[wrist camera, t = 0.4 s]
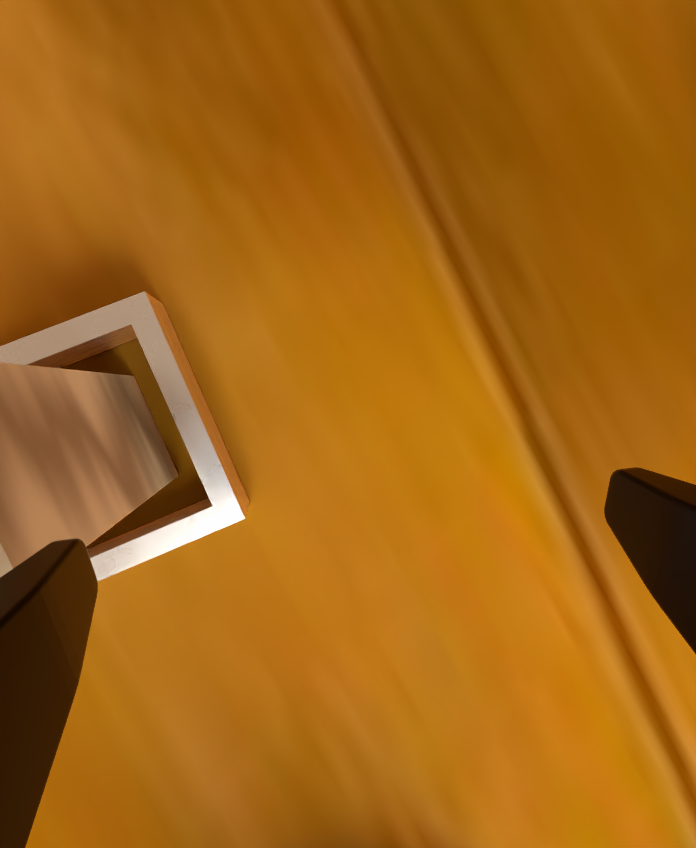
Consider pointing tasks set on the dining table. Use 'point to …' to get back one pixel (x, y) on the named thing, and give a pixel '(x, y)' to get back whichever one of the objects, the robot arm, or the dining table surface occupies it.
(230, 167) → the dining table surface
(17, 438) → the maple block
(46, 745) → the robot arm
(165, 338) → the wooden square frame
